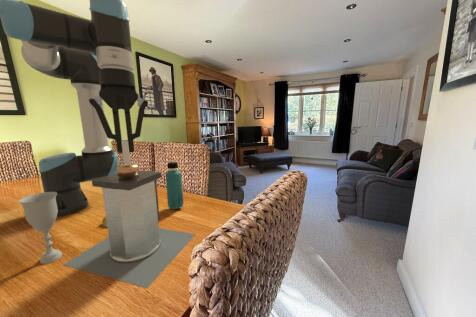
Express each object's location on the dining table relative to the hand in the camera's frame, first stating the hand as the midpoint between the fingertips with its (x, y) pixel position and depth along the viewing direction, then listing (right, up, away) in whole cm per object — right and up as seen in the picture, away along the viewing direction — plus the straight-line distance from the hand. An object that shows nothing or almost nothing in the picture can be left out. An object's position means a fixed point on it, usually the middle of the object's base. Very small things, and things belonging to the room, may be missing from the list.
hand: (127, 164), depth 54 cm
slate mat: (0, -25, +5) cm, 25 cm away
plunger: (0, -23, +4) cm, 23 cm away
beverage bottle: (+3, -20, +32) cm, 37 cm away
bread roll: (-15, -22, +21) cm, 35 cm away
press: (+1, -24, +6) cm, 25 cm away
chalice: (-21, -26, +1) cm, 33 cm away
